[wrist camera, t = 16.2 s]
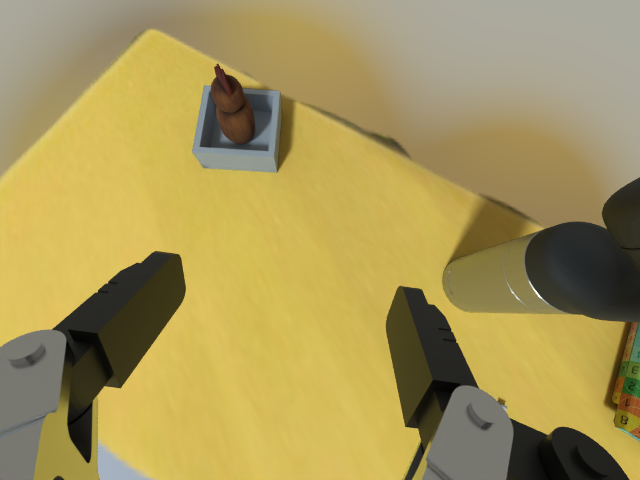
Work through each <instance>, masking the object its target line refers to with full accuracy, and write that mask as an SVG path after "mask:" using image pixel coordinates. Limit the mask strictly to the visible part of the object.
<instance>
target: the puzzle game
mask: <svg viewBox="0 0 640 480" xmlns="http://www.w3.org/2000/svg"><path fill="white" fill-rule="evenodd" d="M612 401H613V403H615V404H617V405H618V407H617V411H616V414H615V418H614V424H615V427H617V428H619V429H620V430H622V431H624V432H625V433H627V434H629V435H630V436H632V437H633V438H635V439H637V440H638V441H640V323H635V322H632V323H631V327H630V330H629V334H628V338H627V342H626V346H625V350H624V353H623V357H622V361H621V365H620V369H619V373H618V376H617V380H616V384H615V388H614V392H613V396H612Z"/></svg>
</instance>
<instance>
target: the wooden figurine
mask: <svg viewBox="0 0 640 480" xmlns="http://www.w3.org/2000/svg"><path fill="white" fill-rule="evenodd" d="M214 69H215V73H216V78H215V79H214V80H213V82H212V84H211V95H212V98H213V100H214V103H215V104H216V113H217V119H218V122H219V125H220V127H221V130H222V132H223V134H224V135H225V137H226V138H228V139H229V140H230V141H232V142H234V143H236V144H246V143H248V142H250V141H251V140H252V139H253V137H254V134H255V118H254V114H253V110H252V107H251V105H250V103H249V101H248V99H247V98H246V96H244V92H243V89H242V86H241V84H240V83H239V82H238V80H237V79H236V78H234V77H233V76H230V75H226V74H225V72H224V70H223V69H221V68H220V66H219V64H217V66H215V67H214Z"/></svg>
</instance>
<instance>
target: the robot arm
mask: <svg viewBox="0 0 640 480" xmlns="http://www.w3.org/2000/svg"><path fill="white" fill-rule="evenodd" d="M602 217H603V220H604V223H605V225H606V227H607V229H605V228H603V227H601V226H598V225H595V224H592V223H586V222H567V223H563V224H559V225H556V226H553V227H550V228H547V229H544V230H541V231H538V232H535V233H532V234H529V235H526V236H523V237H520V238H517V239H514V240H511V241H508V242H505V243H502V244H499V245H496V246H493V247H490V248H487V249H484V250H481V251H478V252H475V253H472V254H469V255H466V256H463V257H460V258H457V259H455V260H453V261H452V262H451V263H449V265H448V266H447V267H446V269H445V271H444V274H443V287H444V291H445V293H446V295H447V297H448V298H449V300H450V301H451V302H452V303H453V304H454V305H455V306H456V307H458V308H459V309H461V310H463V311H467V312H477V313H518V314H578V315H584V316H587V317H590V318H594V319H599V320H607V321H621V322H635V323H640V178H638V179H636V180H634V181H632V182H631V183H629V184H627V185H626V186H624V187H622V188H621V189H620V190H618V191H617V192H616V193H614V194H613V195H612V196H611V197H610V198H609V199H608V200H607V202H606V203H605V204H604V207H603V211H602ZM185 291H186V286H185V280H184V273H183V267H182V261H181V257H180V255H178V254H174V253H166V252H159V251H155V252H153V253H152V254H150V255H149V256H148V257H147V258H146V259H145V260H144V261H143V262H142V263H136V264H134V265H132V266H130V267H128V268H126V269H124V270H122V271H120V272H119V273H118V274H117V275H115V276H114V277H113V278H112V279H111V280H110V281H108V284H105V285H104V286H103V287H101V288H100V289H99V290H98V292H97V293H94V294H93V295H92V296H91V297H90V298H88V299H87V300H86V301H85V302H84V303H83V304H81V305H80V306H79V307H78V308H77V309H76V310H74V311H73V312H72V313H71V314H70V315H69V316H67V317H66V318H65V319H64V320H63V321H61V322H60V323H59V324H58V325H57V326H56V327H54V328H53V329H52V330H40V331H35V332H31V333H28V334H25V335H22V336H20V337H17V338H15V339H13V340H11V341H9V342H8V343H6V344H4V345H3V346H1V347H0V480H100V479H99V475H98V467H97V466H98V465H97V457H98V451H97V450H98V399H97V397H96V396H97V395H98V394H99V392H100V391H101V390H102V388H103V387H104V386H107V387H115V388H121V387H122V386H123V384H124V383H125V381H126V380H127V379H128V377H129V376H130V375H131V373H132V372H133V370H134V369H135V368H136V366H137V365H138V363H139V362H140V361H141V359H142V358H143V356H144V355H145V354H146V352H147V351H148V349H149V348H150V347H151V345H152V344H153V342H154V341H155V340H156V338H157V337H158V335H159V334H160V333H161V331H162V330H163V328H164V327H165V326H166V324H167V323H168V321H169V320H170V319H171V317H172V316H173V315H174V313H175V312H176V310H177V309H178V308H179V306H180V305H181V303H182V301H183V299H184V296H185ZM386 333H387V338H388V343H389V348H390V353H391V358H392V363H393V368H394V373H395V378H396V383H397V388H398V393H399V398H400V403H401V408H402V413H403V418H404V423H405V427H410V428H418V429H419V434H420V438H421V440H420V442H419V444H418V446H417V448H416V450H415V452H414V455H413V457H412V459H411V461H410V463H409V466H408V468H407V470H406V472H405V474H404V477H403V479H402V480H629V478H628V477H627V475H626V474H625V473H624V471H623V470H622V468H621V467H620V466H619V464H618V463H617V462H616V461H615V459H614V458H613V457H612V456H611V455H610V454H609V453H608V452H607V451H606V450H605V449H604V448H603V447H602V446H600V445H599V444H598V443H597V442H595V441H594V440H593V439H591V438H590V437H588V436H587V435H585V434H583V433H581V432H579V431H577V430H575V429H572V428H568V427H558V428H556V429H555V430H554V431H552V432H551V433H550V434H549V435H546V434H544V433H542V432H540V431H537V430H535V429H533V428H531V427H528V426H526V425H524V424H522V423H519V422H517V421H515V420H513V419H511V418H509V416H508V414H507V413H506V411H505V410H504V409H503V407H502V406H501V405H500V404H499V403H498V402H497V401H496V400H495V399H494V398H493V397H492V396H490V395H489V394H488V393H486V392H484V391H483V390H481V389H479V387H478V385H477V383H476V381H475V379H474V377H473V375H472V373H471V370H470V368H469V366H468V364H467V362H466V360H465V358H464V356H463V353H462V351H461V349H460V347H459V345H458V343H456V339H455V336H454V334H453V332H451V328H450V326H449V324H448V322H447V319H446V317H445V316H444V315H443V314H442V313H441V312H440V311H439V309H438V308H437V307H436V306H435V305H430V304H428V303H427V300H426V298H425V296H424V293H423V291H422V290H421V289H418V288H411V287H404V286H399V287H398V289H397V291H396V294H395V296H394V299H393V302H392V305H391V307H390V310H389V313H388V316H387V320H386Z"/></svg>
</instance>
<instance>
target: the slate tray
mask: <svg viewBox="0 0 640 480" xmlns="http://www.w3.org/2000/svg"><path fill="white" fill-rule="evenodd" d="M242 89H243V92H244V96H246V98H247V99H248V101H249V103H250V105H251V107H252V110H253V114H254V118H255V134H254V137H253V139H252V140H251V141H250V142H248V143H246V144H236V143H234V142H232V141H230V140H229V139H228V138H226V137H225V135H224V134H223V132H222V130H221V127H220V125H219V122H218V119H217V113H216V104H215V103H214V100H213V98H212V95H211V86H205V85H204V89H203V95H202V100H201V106H200V111H199V117H198V122H197V128H196V133H195V139H194V144H193V150H192V153H193V154H194V155H195V157H196V158H197V160H198V161H199V162H200V164H201V165H202V167H203V168H210V169H227V170H243V171H259V172H276V173H277V168H278V156H279V144H280V133H281V121H282V104H281V95H280V91H273V90H259V89H246V88H242Z"/></svg>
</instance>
